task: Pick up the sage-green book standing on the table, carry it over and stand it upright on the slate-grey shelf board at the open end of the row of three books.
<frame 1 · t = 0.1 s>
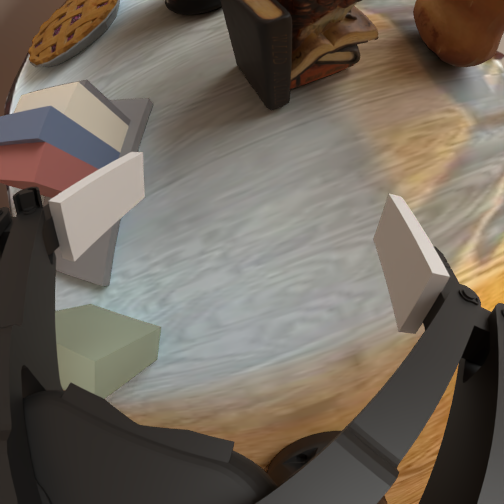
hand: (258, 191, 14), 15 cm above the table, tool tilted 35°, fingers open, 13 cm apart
bookend: (302, 65, 30), on the table
butternut squash: (440, 50, 28), on the table
container: (203, 0, 32), on the table
book shelf: (87, 184, 32), on the table
loose book: (121, 331, 31), on the table
pie: (79, 30, 35), on the table
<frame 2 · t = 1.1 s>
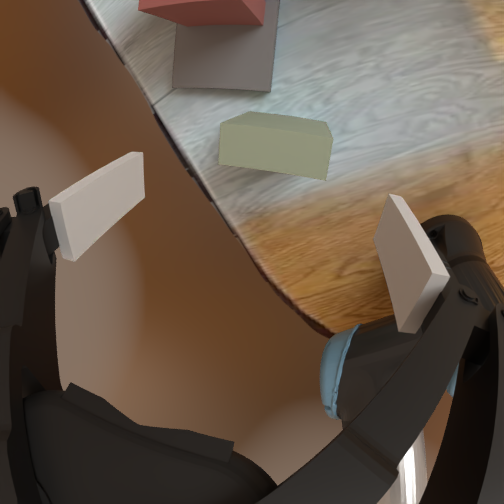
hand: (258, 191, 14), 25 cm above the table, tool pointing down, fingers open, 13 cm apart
book shelf: (228, 11, 27), on the table
loose book: (285, 130, 35), on the table
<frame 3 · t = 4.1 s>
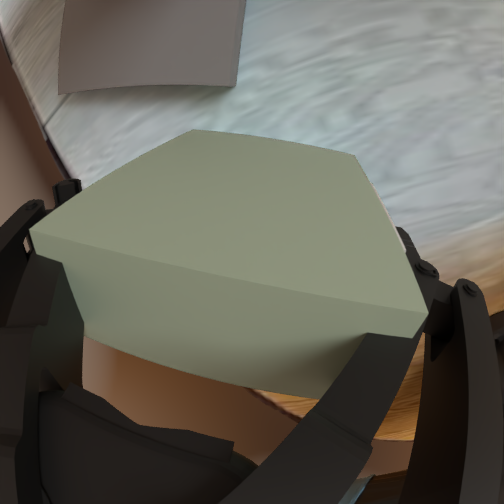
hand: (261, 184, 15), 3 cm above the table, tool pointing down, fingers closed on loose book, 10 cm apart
loose book: (268, 169, 17), on the table, touching gripper
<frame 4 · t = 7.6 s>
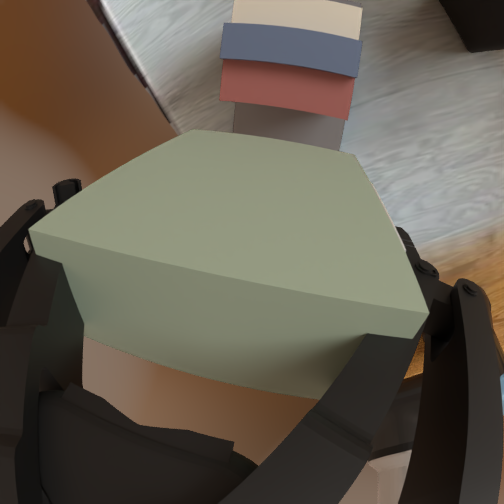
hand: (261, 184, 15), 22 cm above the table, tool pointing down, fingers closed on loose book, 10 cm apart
bookend: (482, 12, 17), on the table
book shelf: (295, 80, 30), on the table
loose book: (268, 169, 17), point 19 cm above the table, touching gripper
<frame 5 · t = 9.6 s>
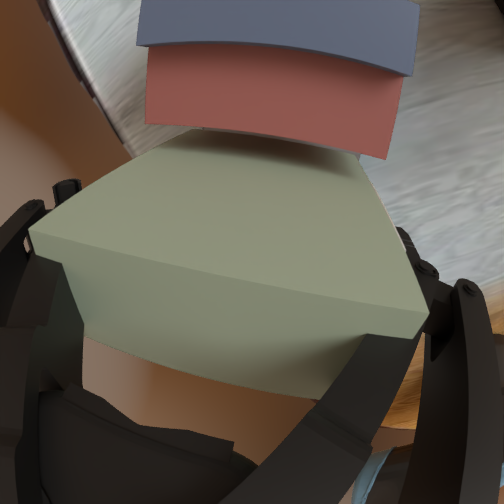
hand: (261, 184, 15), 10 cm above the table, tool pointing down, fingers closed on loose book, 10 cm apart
book shelf: (290, 79, 20), on the table
loose book: (268, 169, 17), point 7 cm above the table, touching gripper
when the fingers open (6 cm above the table, at t = 11.1 s): loose book drops 1 cm, resting on book shelf.
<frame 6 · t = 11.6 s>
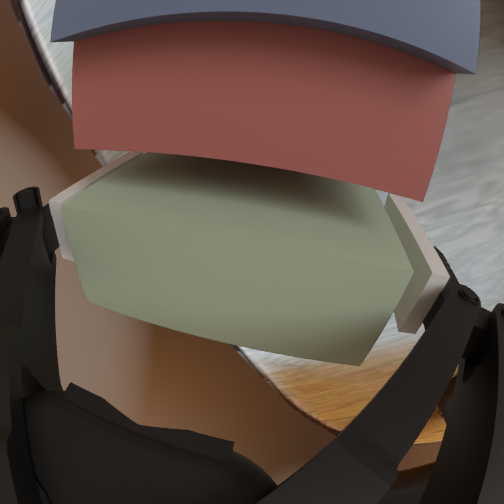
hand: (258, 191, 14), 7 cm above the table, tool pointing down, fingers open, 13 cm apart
book shelf: (284, 76, 16), on the table
loose book: (271, 163, 19), point 1 cm above the table, touching book shelf
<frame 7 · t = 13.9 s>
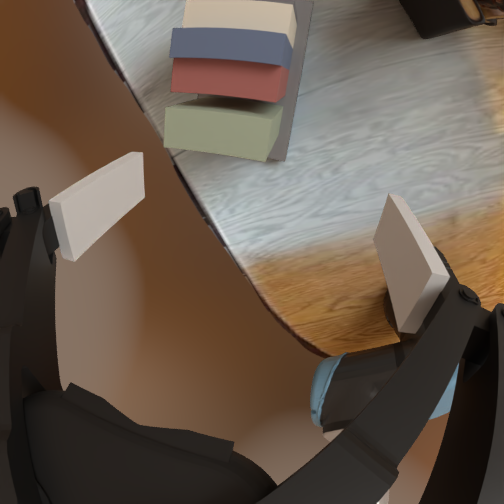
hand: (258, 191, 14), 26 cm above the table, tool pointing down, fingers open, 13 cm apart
bookend: (441, 0, 20), on the table
book shelf: (251, 72, 33), on the table
loose book: (243, 114, 35), point 1 cm above the table, touching book shelf
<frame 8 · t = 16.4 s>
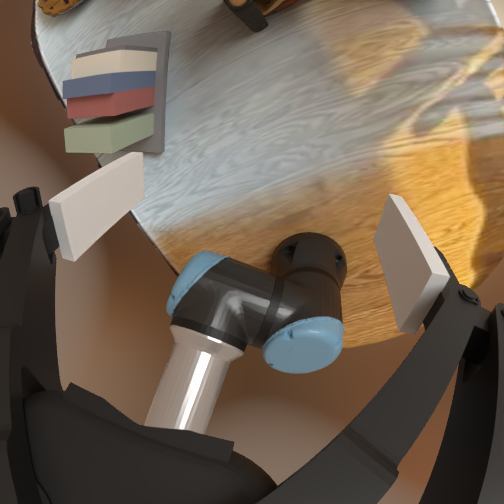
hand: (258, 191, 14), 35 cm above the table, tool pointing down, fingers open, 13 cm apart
book shelf: (135, 92, 44), on the table
loose book: (130, 123, 46), point 1 cm above the table, touching book shelf
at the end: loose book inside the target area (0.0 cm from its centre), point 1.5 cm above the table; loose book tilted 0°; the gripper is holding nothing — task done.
